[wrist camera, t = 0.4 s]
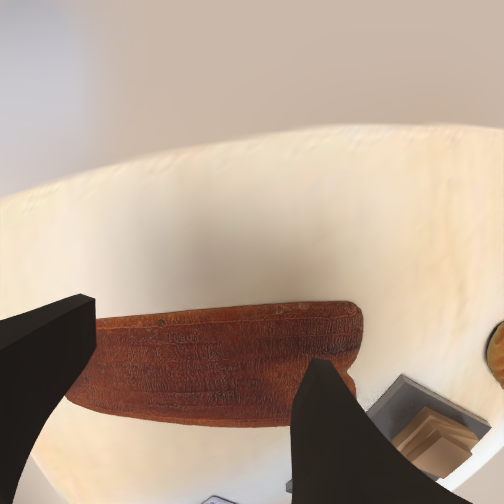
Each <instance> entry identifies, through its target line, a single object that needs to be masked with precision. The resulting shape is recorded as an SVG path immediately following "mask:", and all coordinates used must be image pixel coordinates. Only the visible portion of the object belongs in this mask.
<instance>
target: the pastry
mask: <svg viewBox="0 0 504 504" xmlns="http://www.w3.org/2000/svg"><path fill="white" fill-rule="evenodd" d="M487 361H488V366H489V367H490V369H491V370H492V371H493V376H494V377H495V378H496V379H497V380H498V381H499V383H500V385H501V387H502V389H504V322H502V323H501V324H500V325H499V326H498V328H497V330H496V332H495V334H494V335H493V337H492V339H491V341H490V343H489V346H488V349H487Z"/></svg>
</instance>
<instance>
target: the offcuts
mask: <svg viewBox="0 0 504 504" xmlns="http://www.w3.org/2000/svg"><path fill="white" fill-rule="evenodd" d="M478 441H479V440H478V438H477V437H476V435H475V434H474V433H473V432H471V431H470V429H469V428H468V427H467V426H464V425H462V424H460V423H458V422H456V421H454V420H452V419H450V418H448V417H446V416H444V415H442V414H440V413H438V412H436V411H434V410H432V409H430V408H428V407H426V406H425V407H424V408H423V409H422V410H421V411H420V412H419V413H418V414H417V415H416V416H415V417H414V418H413V419H412V420H411V421H410V422H409V423H408V424H407V425H406V426H405V427H404V428H403V429H402V430H401V431H400V432H399V433H398V434H397V435H396V436H395V437H394V438H393V439H392V443H393V446H394V447H395V448H396V449H397V450H398V451H400V452H401V454H402V455H403V456H405V457H406V458H407V459H408V460H409V461H410V462H411V463H412V464H414V465H415V466H416V467H417V468H419V469H421V470H423V471H426V472H428V473H430V474H433V475H435V476H438V477H440V478H442V479H444V478H446V477H447V476H448V475H449V474H450V473H452V472H453V471H454V470H455V469H457V468H458V467H459V466H460V465H461V464H462V463H464V462H465V461H466V460H467V459H468V458H469V457H471V456H472V453H471V451H470V450H471V449H472V448H473V447H474V446H475V445H476V444H477V442H478Z"/></svg>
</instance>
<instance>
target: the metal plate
mask: <svg viewBox="0 0 504 504" xmlns="http://www.w3.org/2000/svg"><path fill="white" fill-rule="evenodd" d="M425 406H426V407H428V408H430V409H432V410H434V411H436V412H438V413H440V414H442V415H444V416H446V417H448V418H450V419H452V420H454V421H456V422H458V423H460V424H462V425H464V426H467V427H468V428H469V429H470V431H471V432H473V433H474V434H475V435H476V437H477V438H478V440H479V441H480V440H481V439H482V438H483V436H484V435H485V434H486V433H487V432H488V431H489V430H490V429H491V428H492V427H491V426H490V424H489V423H488V422H487V421H485V420H483V419H481V418H479V417H478V416H476V415H474V414H472V413H470V412H468V411H466V410H465V409H463V408H461V407H459V406H457V405H455V404H453V403H452V402H450V401H448V400H446V399H444V398H442V397H441V396H439V395H437V394H435V393H433V392H432V391H430V390H428V389H426V388H424V387H423V386H421V385H419V384H417V383H415V382H414V381H412V380H410V379H408V378H407V377H405V376H403V375H400V376H399V378H398V379H397V380H396V381H395V382H394V383H393V384H392V386H391V387H390V388H389V389H388V390H387V391H386V392H385V393H384V394H383V396H382V397H381V398H380V399H379V400H378V401H377V402H376V403H375V404H374V405H373V406H372V407H371V408H370V409H369V410H368V411H367V412H366V414H367V415H368V417H369V418H370V419H371V420H372V422H373V423H374V424H375V425H376V427H377V428H378V429H379V430H380V431H381V433H382V434H383V435H384V436H385V437H386V438H387V439H388V440H389V441H390V442H391V443H392V439H393V438H394V437H395V436H396V435H397V434H398V433H399V432H400V431H401V430H402V429H403V428H404V427H405V426H406V425H407V424H408V423H409V422H410V421H411V420H412V419H413V418H414V417H415V416H416V415H417V414H418V413H419V412H420V411H421V410H422V409H423V408H424V407H425ZM479 441H478V442H479ZM478 442H477V443H478ZM392 445H393V443H392ZM399 452H400V451H399ZM400 453H401V452H400ZM418 469H419V468H418ZM419 470H421V469H419ZM421 471H422V472H423V473H424V474H426V475H427V476H428V477H430V478H431V479H432V480H434V481H437V480H438V479H439V478H440V477H438V476H435V475H433V474H430V473H428V472H426V471H423V470H421ZM286 492H289V493H292V480H291V481H289V482H288V483H287V484H286Z"/></svg>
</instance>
